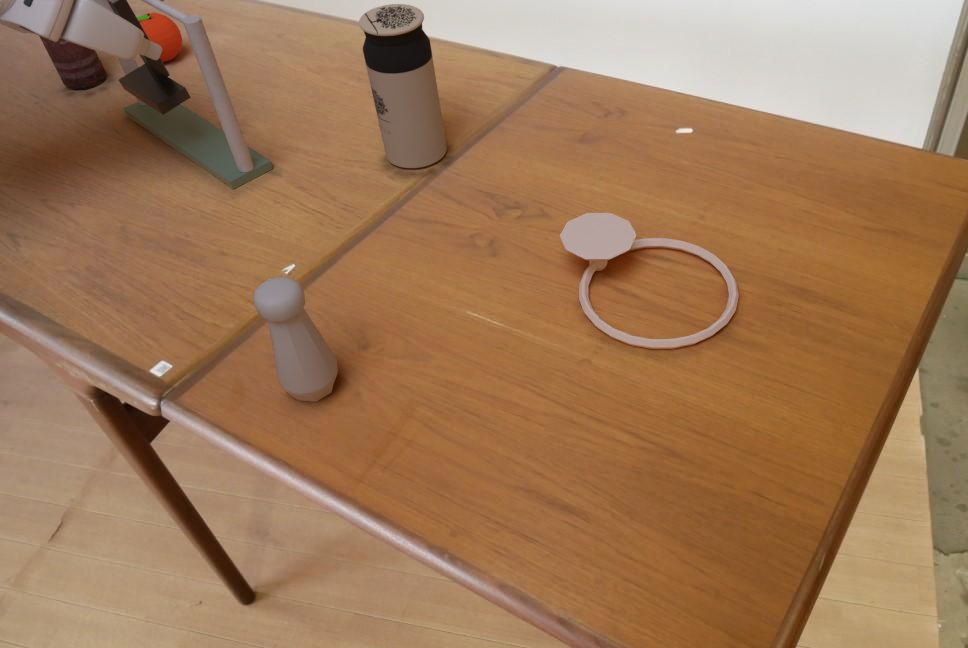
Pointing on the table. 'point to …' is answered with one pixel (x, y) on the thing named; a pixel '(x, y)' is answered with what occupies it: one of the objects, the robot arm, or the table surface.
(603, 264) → the hand towel holder
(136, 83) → the hanger
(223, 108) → the rack
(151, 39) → the clementine
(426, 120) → the travel mug
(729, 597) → the table surface
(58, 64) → the can
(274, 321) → the salt shaker
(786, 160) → the table surface
